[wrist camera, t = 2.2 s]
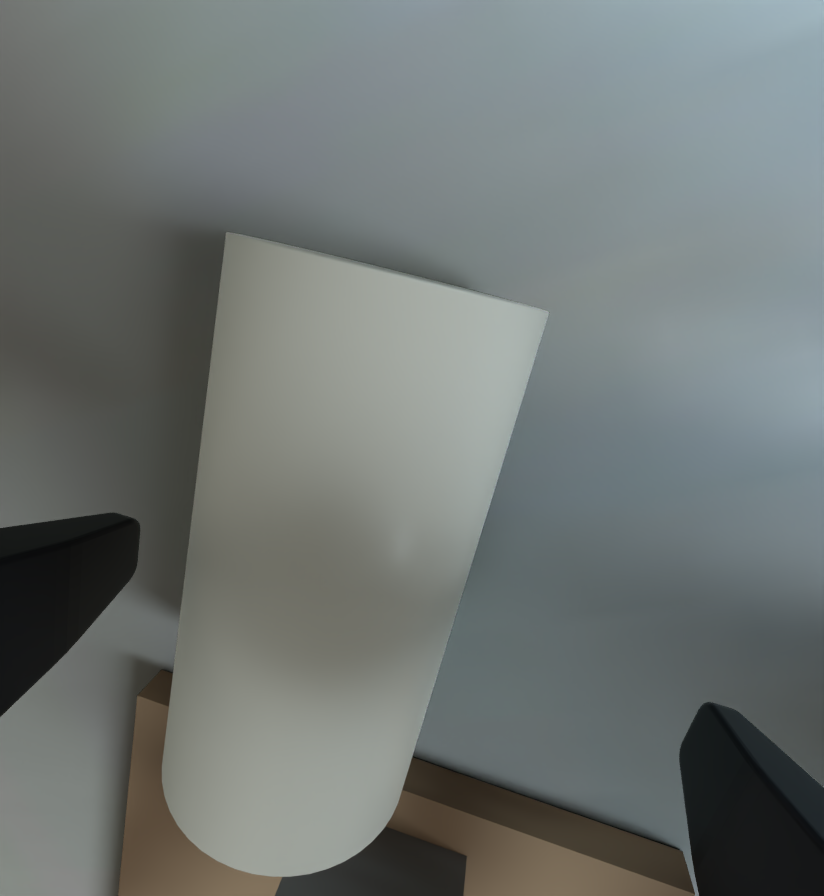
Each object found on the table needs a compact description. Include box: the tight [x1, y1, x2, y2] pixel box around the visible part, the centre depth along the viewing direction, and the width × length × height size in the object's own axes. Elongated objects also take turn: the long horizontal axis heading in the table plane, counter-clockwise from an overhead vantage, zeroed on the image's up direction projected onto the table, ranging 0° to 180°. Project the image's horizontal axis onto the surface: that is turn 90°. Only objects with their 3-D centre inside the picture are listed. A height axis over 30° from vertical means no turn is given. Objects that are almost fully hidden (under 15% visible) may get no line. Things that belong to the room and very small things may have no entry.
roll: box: [162, 232, 549, 877], centre depth 10 cm, size 5×10×5 cm
